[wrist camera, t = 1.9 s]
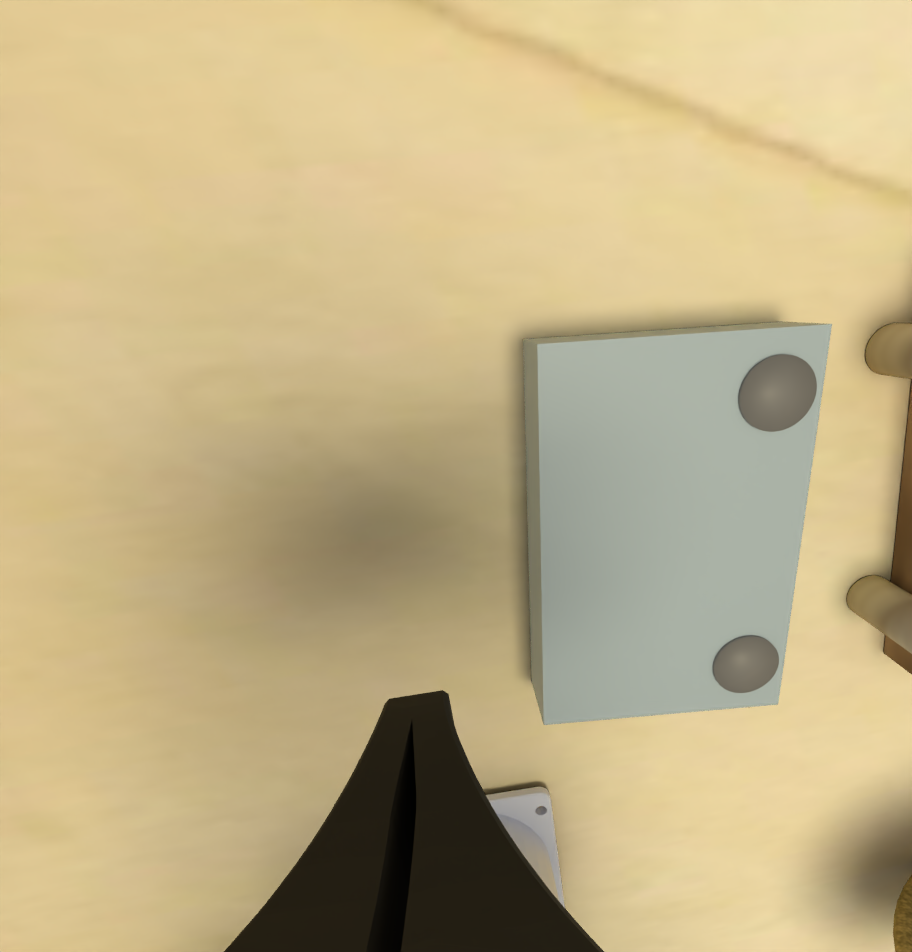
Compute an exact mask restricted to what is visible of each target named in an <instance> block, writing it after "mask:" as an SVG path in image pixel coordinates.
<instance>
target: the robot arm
mask: <svg viewBox="0 0 912 952" xmlns="http://www.w3.org/2000/svg"><path fill="white" fill-rule="evenodd" d="M540 806H543V807H540ZM224 952H604V951H603V950H602V949H601V948H600V947H599V946H598V945H597V944H596V943H595V942H594V940H593V939H592V938H591V937H590V936H589V935H588V934H587V933H586V932H585V931H584V930H583V928H582V927H581V926H580V925H579V924H578V923H577V922H576V921H575V920H574V918H573V917H572V916H571V915H570V914H569V913H568V911H567V910H566V909H565V905H564V897H563V889H562V882H561V874H560V866H559V858H558V851H557V843H556V835H555V827H554V820H553V812H552V804H551V798H550V794H549V791H548V790H547V789H546V788H544V787H533V788H527V789H520V790H514V791H508V792H502V793H495V794H489V795H485V793H484V791H483V789H482V787H481V785H480V784H479V782H478V780H477V778H476V776H475V774H474V772H473V770H472V768H471V766H470V763H469V761H468V759H467V756H466V754H465V752H464V750H463V747H462V745H461V743H460V740H459V737H458V735H457V732H456V729H455V726H454V721H453V716H452V711H451V705H450V700H449V695H448V694H447V693H446V692H444V691H443V690H442V691H436V692H430V693H423V694H417V695H411V696H405V697H398V698H392V699H389V700H388V701H387V702H386V703H385V705H384V708H383V710H382V713H381V715H380V717H379V720H378V722H377V724H376V727H375V729H374V731H373V733H372V735H371V738H370V740H369V742H368V744H367V746H366V748H365V750H364V752H363V754H362V756H361V758H360V760H359V762H358V764H357V766H356V768H355V770H354V772H353V773H352V775H351V777H350V779H349V781H348V783H347V785H346V786H345V788H344V790H343V791H342V793H341V795H340V797H339V798H338V800H337V802H336V803H335V805H334V807H333V809H332V810H331V812H330V814H329V815H328V817H327V819H326V820H325V822H324V823H323V825H322V826H321V828H320V830H319V831H318V833H317V834H316V836H315V837H314V839H313V840H312V842H311V843H310V845H309V846H308V848H307V849H306V850H305V852H304V853H303V855H302V856H301V858H300V859H299V860H298V862H297V863H296V865H295V866H294V867H293V869H292V870H291V871H290V873H289V874H288V875H287V877H286V878H285V879H284V881H283V882H282V883H281V885H280V886H279V887H278V888H277V890H276V891H275V892H274V894H273V895H272V896H271V898H270V899H269V900H268V901H267V903H266V904H265V905H264V906H263V907H262V909H261V910H260V911H259V912H258V914H257V915H256V916H255V917H254V918H253V919H252V921H251V922H250V923H249V924H248V925H247V926H246V927H245V928H244V930H243V931H242V932H241V933H240V934H239V935H238V936H237V938H236V939H235V940H234V941H233V942H232V943H231V944H230V946H229V947H228V948H227V949H226V950H225V951H224Z"/></svg>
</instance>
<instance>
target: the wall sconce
mask: <svg viewBox="0 0 912 952" xmlns="http://www.w3.org/2000/svg"><path fill="white" fill-rule="evenodd" d="M893 936H894V944H895V951H896V952H912V875H911V877H910V878H909V880H908V881H907V883H906V884H905V886H904V887H903V889H902V892H901V894H900V896H899V899H898V901H897V905H896V910H895V914H894V928H893Z"/></svg>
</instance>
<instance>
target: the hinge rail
mask: <svg viewBox="0 0 912 952" xmlns="http://www.w3.org/2000/svg"><path fill="white" fill-rule="evenodd" d="M866 362H867V364H868V366H869V368H870V369H871V370H872V371H873V372H875V373H877V374H881V375H888V376H894V377H901V378H908V379H912V324H911V323H892V324H888V325H886V326H884V327H882V328H880V329H879V330H878V331H877V332H876V333H875V334H874V335H873V336H872V337H871V339H870V341H869V343H868V345H867V348H866ZM847 604H848V607H849V608H850V609H851V610H852V611H853V612H854V613H856V614H857V615H859V616H860V617H861V618H863V619H864V620H865V621H867V622H868V623H870V624H871V625H872V626H874V627H875V628H877V629H878V630H879V631H881V632H882V633H884V634H885V635H886V636H885V645H884V654H886V655H887V656H888V657H890V658H891V659H892V660H894V661H895V662H896V663H897V664H899V665H900V666H901V667H903V668H904V669H905V670H907V671H908V672H909V673H911V674H912V384H911V394H910V403H909V413H908V423H907V432H906V442H905V452H904V462H903V471H902V481H901V491H900V500H899V510H898V520H897V529H896V539H895V549H894V558H893V568H892V578H891V582H890V581H888V580H886V579H885V578H883V577H881V576H876V575H872V576H867V577H864V578H862V579H860V580H858V581H857V582H856V583H855V584H854V585H853V586H852V587H851V588H850V590H849V592H848V595H847Z"/></svg>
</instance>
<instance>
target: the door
mask: <svg viewBox="0 0 912 952" xmlns="http://www.w3.org/2000/svg"><path fill="white" fill-rule="evenodd" d="M831 327H832V324H819V323H798V322H767V323H753V324H738V325H723V326H708V327H693V328H679V329H664V330H649V331H634V332H620V333H605V334H590V335H575V336H560V337H546V338H531V339H523V358H524V398H525V439H526V479H527V520H528V560H529V601H530V641H531V681H532V684H533V688H534V691H535V695H536V699H537V702H538V706H539V710H540V713H541V717H542V720H543V724H544V725H549V724H561V723H572V722H583V721H595V720H606V719H618V718H629V717H640V716H652V715H663V714H674V713H686V712H697V711H709V710H720V709H731V708H743V707H754V706H765V705H777V704H778V701H779V694H780V687H781V680H782V673H783V666H784V658H785V651H786V644H787V637H788V630H789V623H790V616H791V609H792V602H793V595H794V588H795V581H796V574H797V567H798V560H799V553H800V546H801V539H802V532H803V525H804V518H805V510H806V503H807V496H808V489H809V482H810V475H811V468H812V461H813V454H814V447H815V440H816V433H817V426H818V419H819V412H820V405H821V398H822V391H823V384H824V377H825V370H826V362H827V355H828V348H829V341H830V334H831Z"/></svg>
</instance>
